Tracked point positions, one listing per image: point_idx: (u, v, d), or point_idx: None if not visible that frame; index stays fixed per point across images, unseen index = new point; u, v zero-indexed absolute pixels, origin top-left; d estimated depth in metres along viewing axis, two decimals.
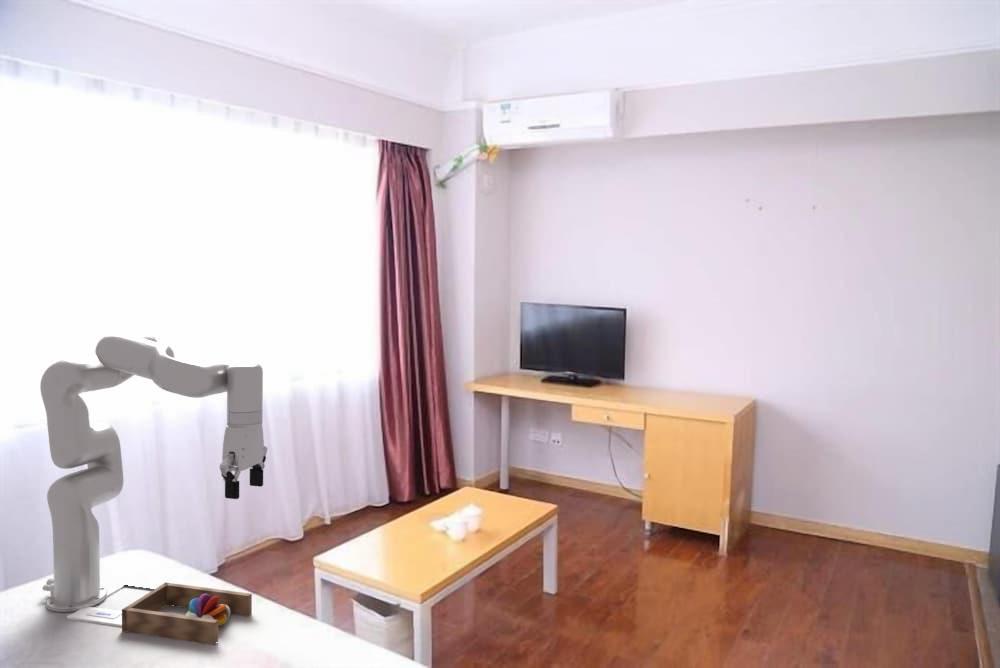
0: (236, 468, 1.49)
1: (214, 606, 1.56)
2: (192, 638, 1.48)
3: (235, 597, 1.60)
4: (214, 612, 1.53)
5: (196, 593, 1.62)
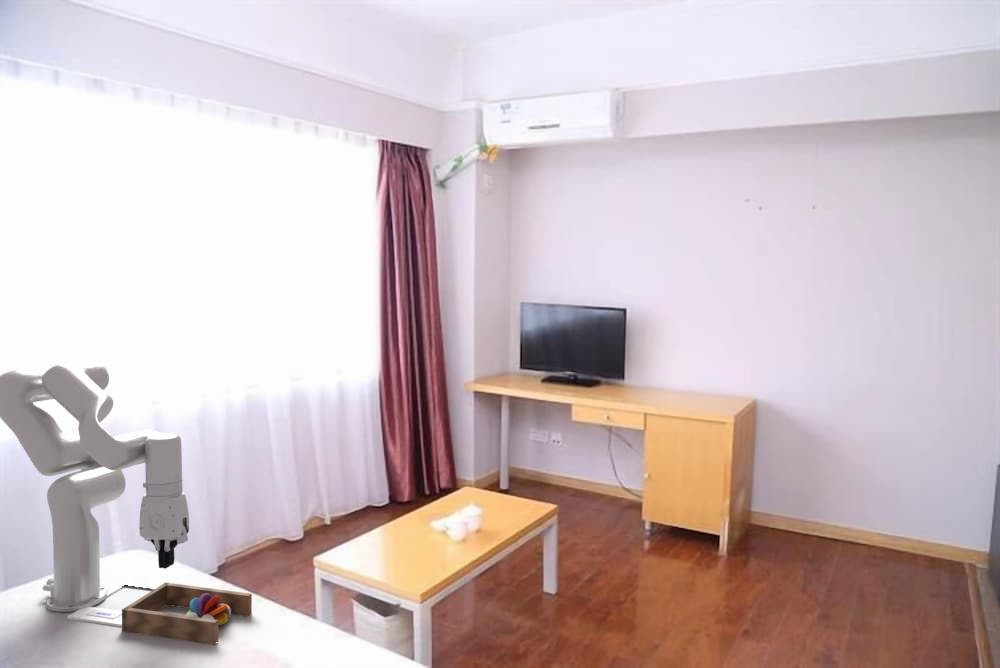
0: None
1: (215, 606, 1.56)
2: (192, 638, 1.48)
3: (235, 597, 1.60)
4: (215, 612, 1.53)
5: (196, 593, 1.62)
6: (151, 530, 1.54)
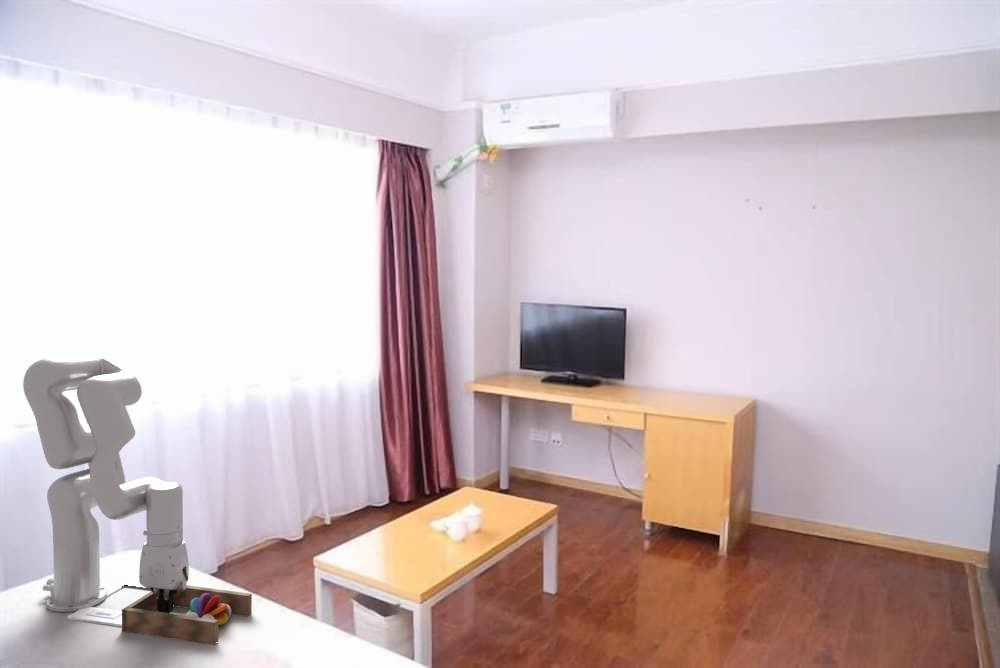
0: None
1: (215, 605, 1.56)
2: (192, 638, 1.48)
3: (235, 597, 1.60)
4: (215, 611, 1.53)
5: (196, 593, 1.62)
6: (151, 579, 1.54)
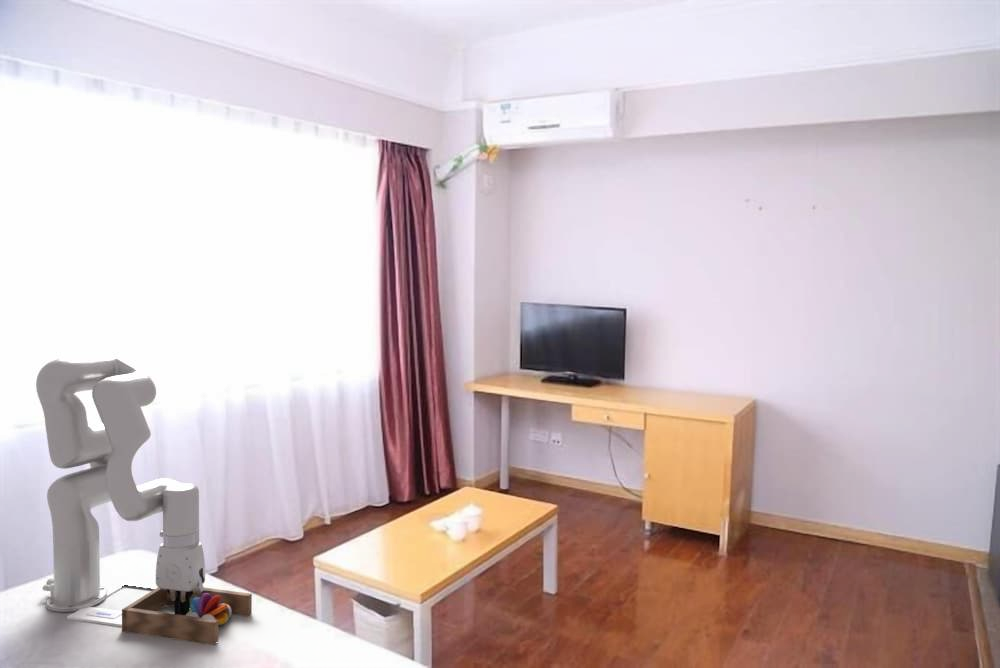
0: None
1: (215, 605, 1.56)
2: (192, 638, 1.48)
3: (235, 597, 1.60)
4: (215, 611, 1.53)
5: None
6: (167, 581, 1.54)
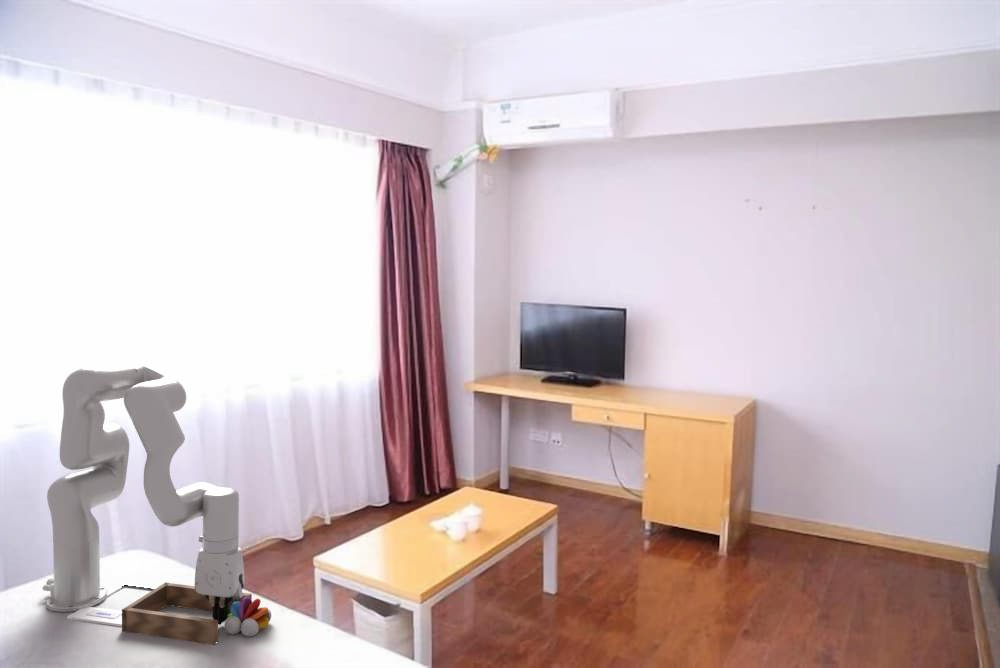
0: None
1: (255, 609, 1.55)
2: (192, 638, 1.48)
3: None
4: (257, 615, 1.51)
5: (196, 593, 1.62)
6: (207, 586, 1.52)
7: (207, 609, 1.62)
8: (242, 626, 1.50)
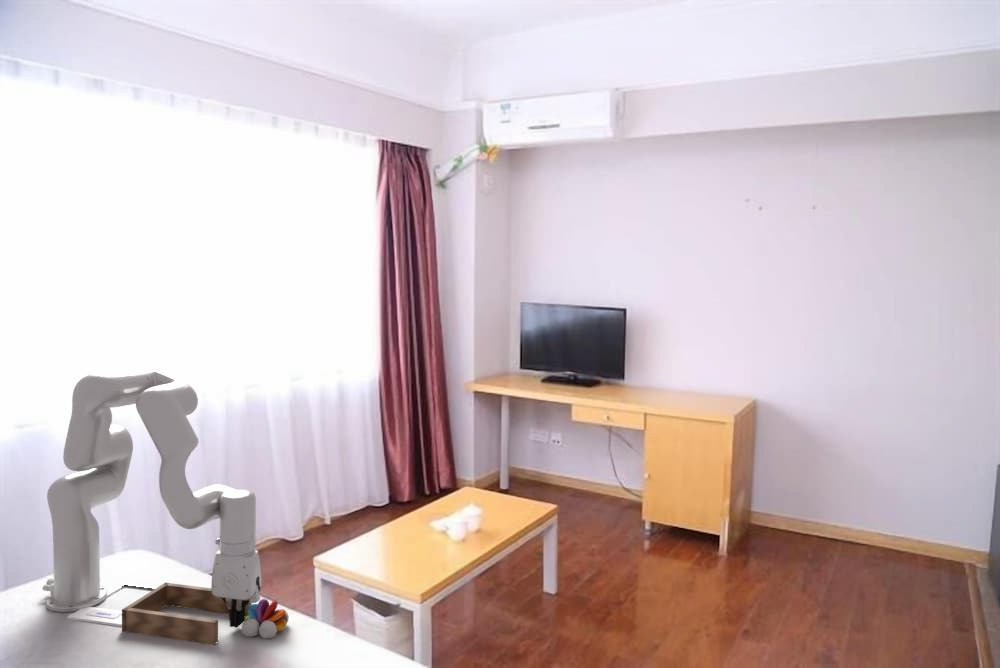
0: None
1: (273, 611, 1.54)
2: (192, 638, 1.48)
3: None
4: (275, 617, 1.51)
5: (196, 593, 1.62)
6: (224, 589, 1.51)
7: (207, 609, 1.62)
8: (260, 628, 1.49)
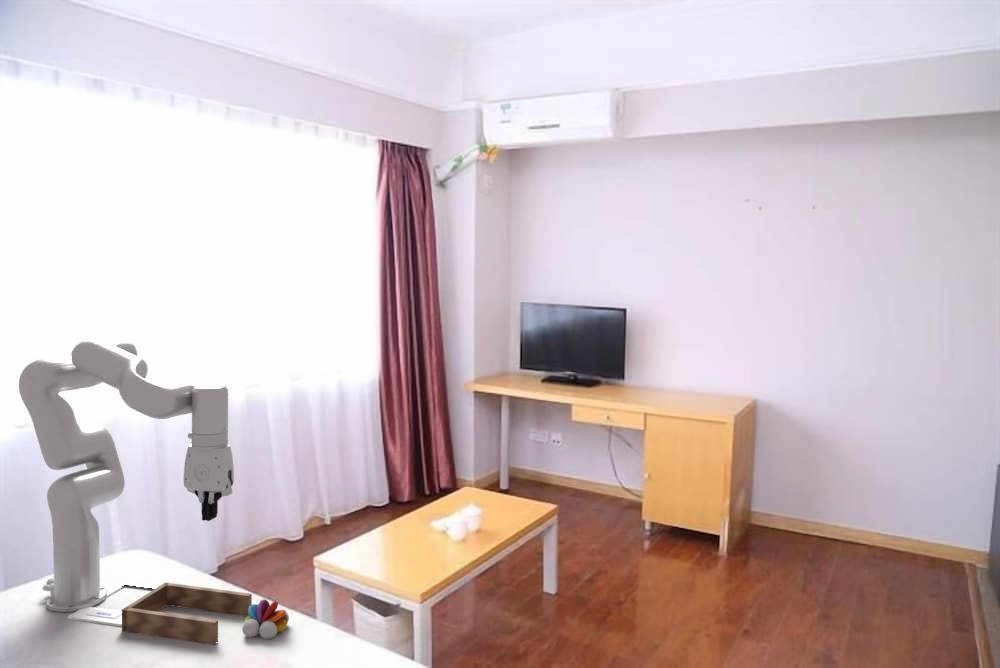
0: None
1: (273, 612, 1.54)
2: (192, 638, 1.48)
3: (235, 597, 1.60)
4: (275, 618, 1.51)
5: (196, 593, 1.62)
6: (196, 481, 1.51)
7: (207, 609, 1.62)
8: (261, 629, 1.49)
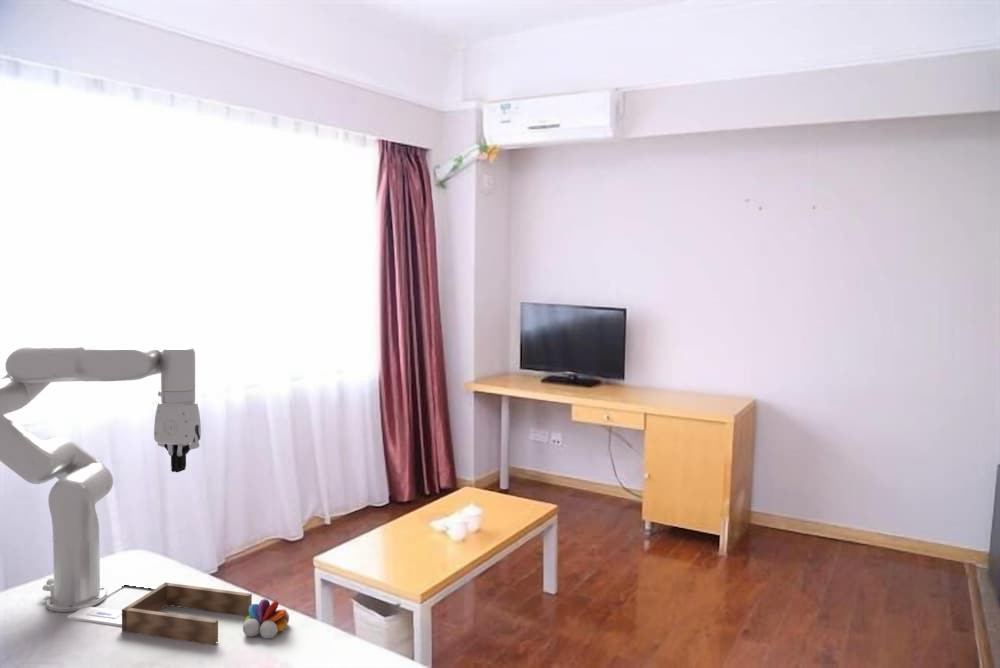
0: (188, 443, 1.66)
1: (274, 611, 1.54)
2: (192, 638, 1.48)
3: (235, 597, 1.60)
4: (276, 617, 1.51)
5: (196, 593, 1.62)
6: (165, 435, 1.63)
7: (207, 609, 1.62)
8: (261, 628, 1.50)
